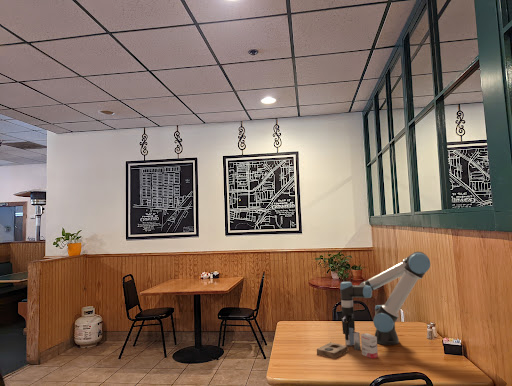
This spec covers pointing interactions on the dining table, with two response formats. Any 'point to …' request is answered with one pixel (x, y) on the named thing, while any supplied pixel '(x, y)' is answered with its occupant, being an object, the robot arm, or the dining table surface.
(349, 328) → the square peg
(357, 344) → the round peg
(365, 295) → the robot arm
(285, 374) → the dining table surface
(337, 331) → the dining table surface
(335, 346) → the socket block
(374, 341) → the ink box
